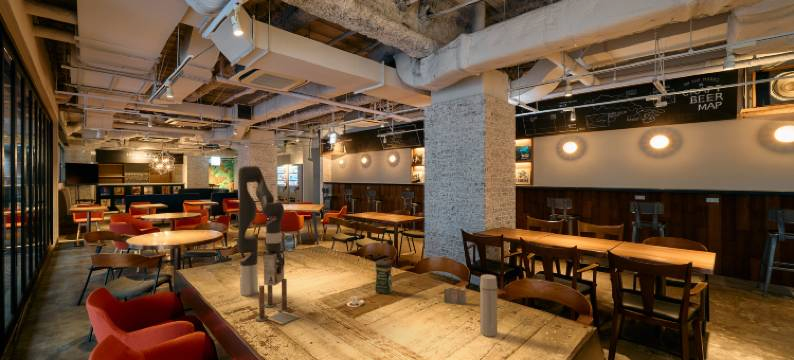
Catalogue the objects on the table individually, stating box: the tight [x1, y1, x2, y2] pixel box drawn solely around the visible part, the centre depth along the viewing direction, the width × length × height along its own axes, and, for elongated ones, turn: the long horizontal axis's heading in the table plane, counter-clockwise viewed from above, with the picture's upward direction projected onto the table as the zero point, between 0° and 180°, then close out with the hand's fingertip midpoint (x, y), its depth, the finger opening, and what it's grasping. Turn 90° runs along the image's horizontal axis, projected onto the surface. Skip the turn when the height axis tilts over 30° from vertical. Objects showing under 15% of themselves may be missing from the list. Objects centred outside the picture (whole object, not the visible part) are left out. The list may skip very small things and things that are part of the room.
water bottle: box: [479, 274, 500, 338], centre depth 153 cm, size 9×8×25 cm
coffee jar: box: [374, 259, 393, 295], centre depth 209 cm, size 10×8×19 cm
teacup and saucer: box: [346, 295, 365, 308], centre depth 191 cm, size 9×8×4 cm
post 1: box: [254, 284, 270, 323], centre depth 172 cm, size 6×6×16 cm
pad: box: [266, 311, 300, 326], centre depth 172 cm, size 12×10×1 cm
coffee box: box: [263, 249, 285, 286], centre depth 184 cm, size 9×6×16 cm
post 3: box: [277, 278, 292, 313], centre depth 182 cm, size 6×6×16 cm
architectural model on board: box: [443, 285, 467, 305], centre depth 192 cm, size 11×3×10 cm, turn 74°
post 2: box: [264, 285, 277, 309], centre depth 189 cm, size 6×6×16 cm
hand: (274, 272), depth 184 cm, fingers closed on coffee box, 8 cm apart
